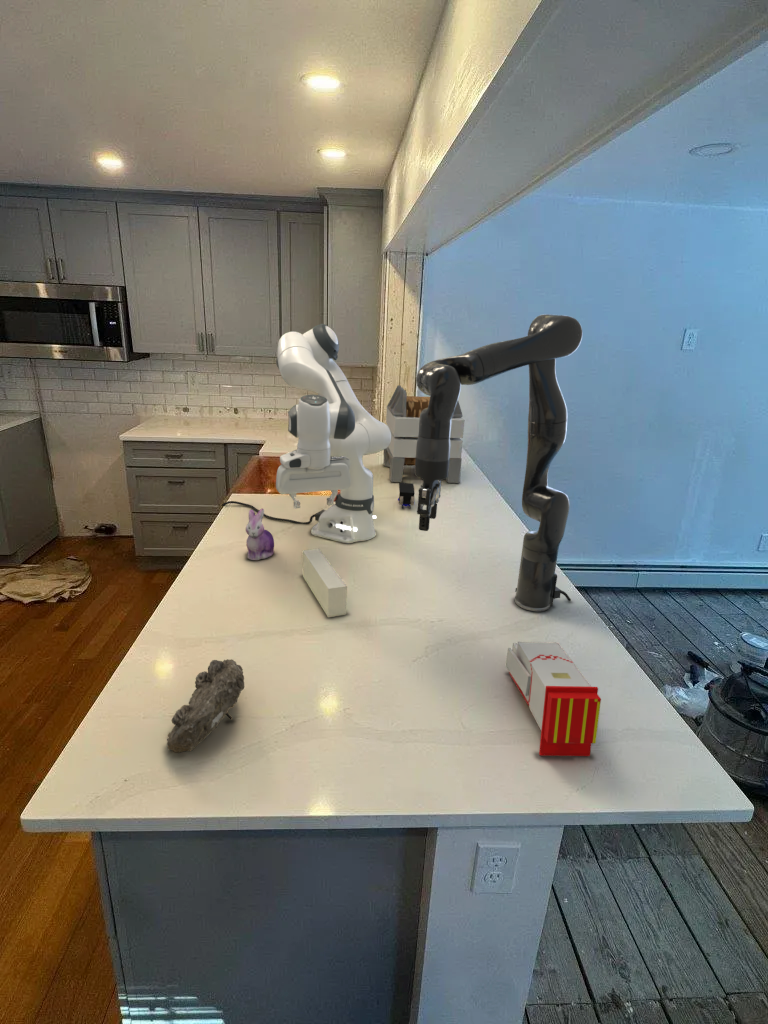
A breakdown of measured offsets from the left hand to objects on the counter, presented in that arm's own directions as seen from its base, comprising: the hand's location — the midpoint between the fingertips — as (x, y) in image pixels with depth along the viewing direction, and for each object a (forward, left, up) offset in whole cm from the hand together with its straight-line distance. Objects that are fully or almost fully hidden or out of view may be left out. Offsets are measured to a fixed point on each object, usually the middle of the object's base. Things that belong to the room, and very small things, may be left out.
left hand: (313, 506), depth 156 cm
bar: (+6, -7, -22) cm, 24 cm away
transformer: (+4, +123, -22) cm, 125 cm away
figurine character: (+9, +75, -22) cm, 79 cm away
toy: (+65, -36, -22) cm, 78 cm away
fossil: (+4, -60, -22) cm, 65 cm away
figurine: (-22, +10, -22) cm, 33 cm away
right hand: (+35, -16, +6) cm, 39 cm away
